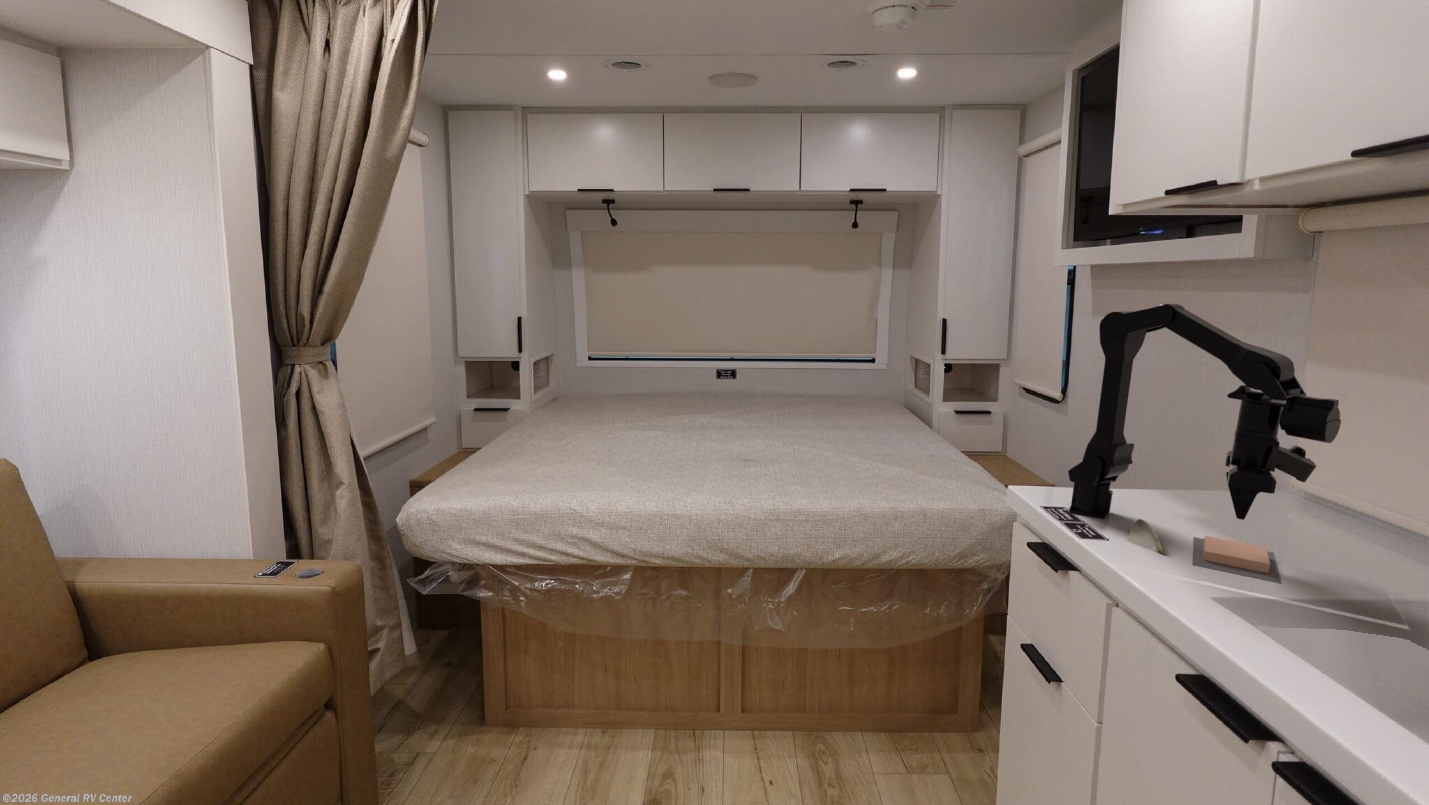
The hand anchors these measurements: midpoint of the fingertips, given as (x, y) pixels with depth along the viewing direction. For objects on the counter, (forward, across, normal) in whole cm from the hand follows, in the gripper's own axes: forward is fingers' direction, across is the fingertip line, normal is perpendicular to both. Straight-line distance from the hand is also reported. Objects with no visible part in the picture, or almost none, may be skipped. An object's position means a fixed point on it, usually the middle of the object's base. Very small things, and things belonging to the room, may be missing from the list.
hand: (1240, 518), depth 133 cm
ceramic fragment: (+8, -2, +13) cm, 15 cm away
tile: (+6, +2, 0) cm, 6 cm away
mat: (+7, -2, 0) cm, 7 cm away
